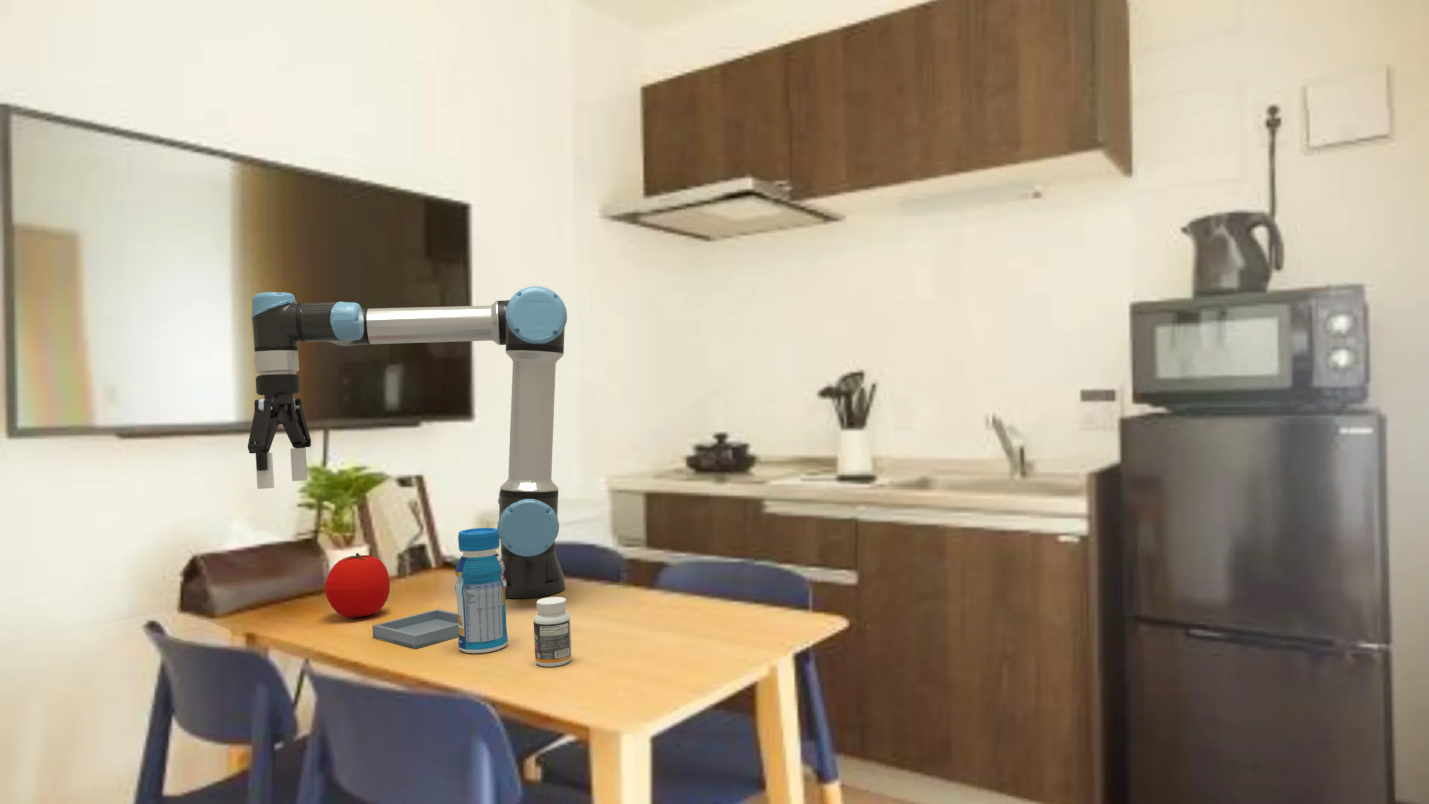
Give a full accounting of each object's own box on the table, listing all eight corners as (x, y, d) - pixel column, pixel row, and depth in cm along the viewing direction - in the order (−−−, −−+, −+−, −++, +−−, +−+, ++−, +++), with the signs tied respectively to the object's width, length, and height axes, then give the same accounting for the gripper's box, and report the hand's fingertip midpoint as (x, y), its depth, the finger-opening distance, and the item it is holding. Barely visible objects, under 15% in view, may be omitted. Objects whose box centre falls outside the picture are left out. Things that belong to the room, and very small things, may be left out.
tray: (438, 620, 169) (437, 609, 169) (481, 630, 160) (481, 618, 160) (372, 637, 158) (372, 625, 158) (415, 649, 150) (415, 636, 150)
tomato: (376, 606, 183) (374, 546, 183) (401, 614, 174) (398, 551, 174) (315, 618, 174) (312, 555, 174) (338, 628, 166) (335, 562, 166)
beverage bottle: (482, 657, 143) (477, 535, 143) (446, 651, 148) (441, 532, 148) (519, 643, 150) (514, 527, 150) (484, 638, 155) (479, 525, 155)
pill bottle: (537, 658, 142) (535, 597, 142) (573, 655, 142) (570, 595, 142) (533, 669, 136) (530, 605, 136) (570, 666, 137) (567, 603, 137)
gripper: (288, 376, 180) (294, 478, 180) (221, 373, 155) (228, 492, 156) (325, 374, 180) (330, 476, 181) (264, 371, 155) (271, 490, 156)
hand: (283, 484), depth 168 cm, fingers open, 13 cm apart
